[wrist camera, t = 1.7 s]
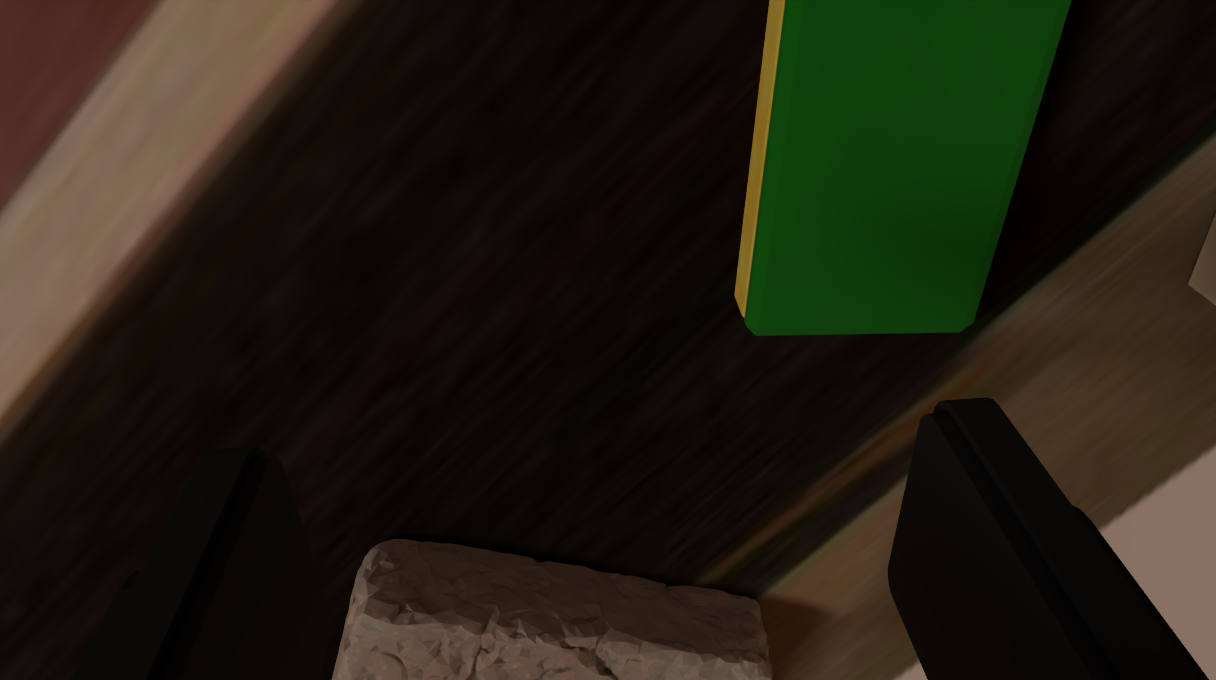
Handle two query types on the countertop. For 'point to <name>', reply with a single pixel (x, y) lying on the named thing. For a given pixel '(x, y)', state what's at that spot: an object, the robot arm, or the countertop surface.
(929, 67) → the dish sponge
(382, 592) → the brick
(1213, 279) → the batten
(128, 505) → the countertop surface
